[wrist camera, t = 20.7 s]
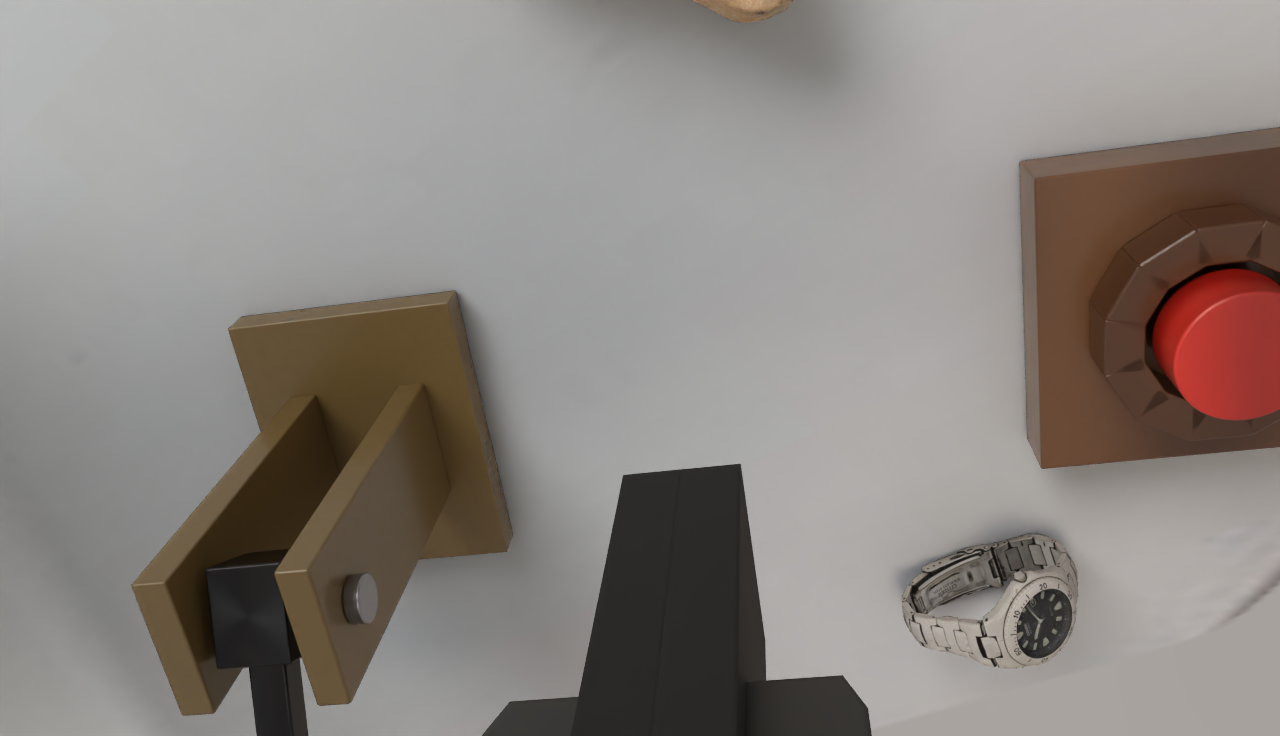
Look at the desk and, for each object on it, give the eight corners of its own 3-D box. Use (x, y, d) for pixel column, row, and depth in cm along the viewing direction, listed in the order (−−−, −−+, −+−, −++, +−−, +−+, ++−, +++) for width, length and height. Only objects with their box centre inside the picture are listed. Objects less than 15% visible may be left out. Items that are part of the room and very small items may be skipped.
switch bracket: (513, 535, 44) (427, 780, 32) (315, 552, 45) (163, 796, 33) (456, 289, 40) (335, 469, 28) (240, 315, 41) (39, 499, 30)
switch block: (1026, 439, 40) (1054, 497, 37) (1019, 160, 37) (1048, 194, 33) (1332, 409, 39) (1391, 467, 35) (1357, 116, 35) (1427, 147, 31)
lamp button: (1150, 398, 36) (1172, 428, 34) (1152, 276, 34) (1175, 300, 32) (1288, 384, 35) (1318, 413, 33) (1297, 259, 33) (1329, 283, 32)
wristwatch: (1074, 575, 43) (1113, 662, 38) (910, 619, 44) (929, 708, 39) (1050, 497, 41) (1087, 577, 37) (882, 545, 43) (898, 628, 38)
